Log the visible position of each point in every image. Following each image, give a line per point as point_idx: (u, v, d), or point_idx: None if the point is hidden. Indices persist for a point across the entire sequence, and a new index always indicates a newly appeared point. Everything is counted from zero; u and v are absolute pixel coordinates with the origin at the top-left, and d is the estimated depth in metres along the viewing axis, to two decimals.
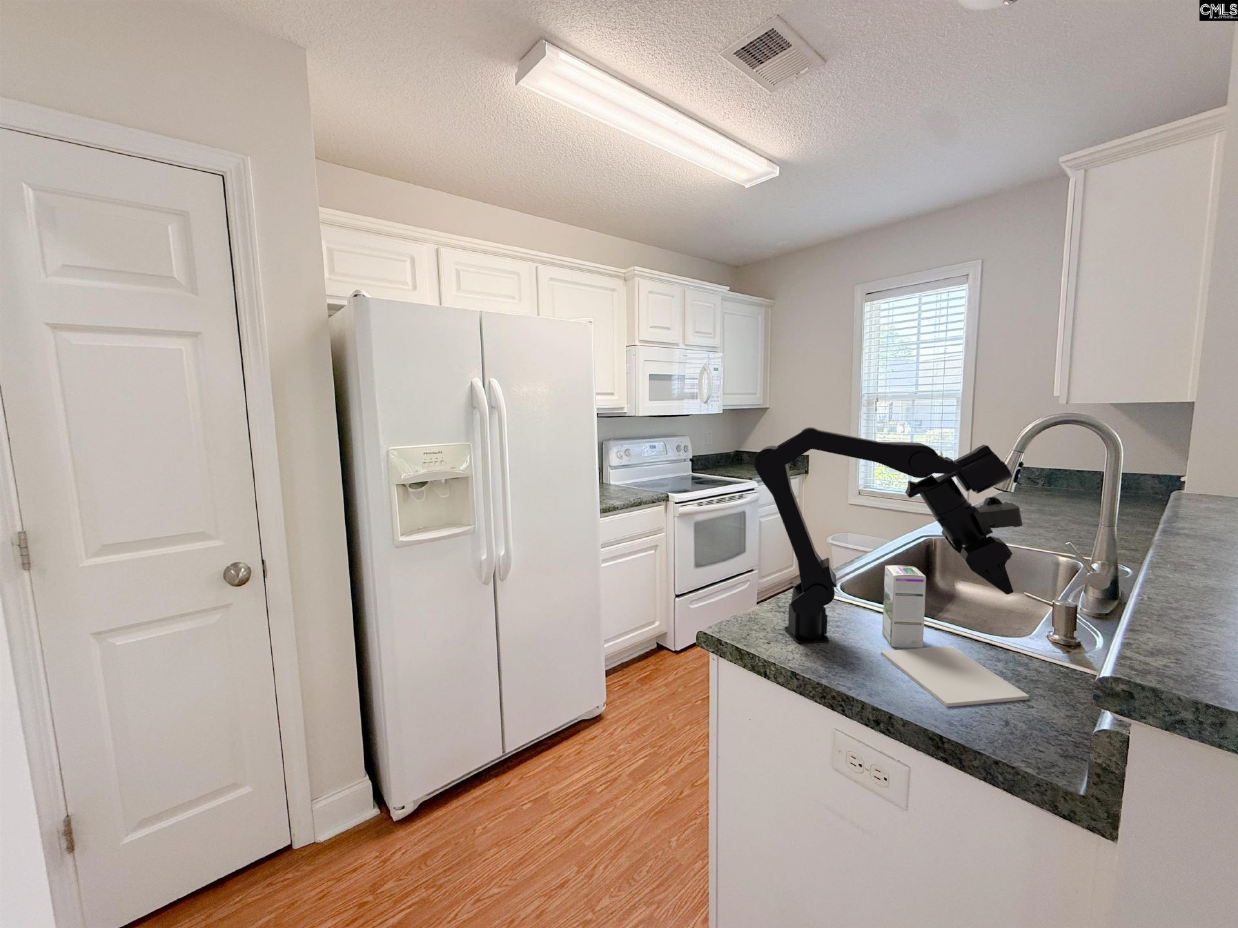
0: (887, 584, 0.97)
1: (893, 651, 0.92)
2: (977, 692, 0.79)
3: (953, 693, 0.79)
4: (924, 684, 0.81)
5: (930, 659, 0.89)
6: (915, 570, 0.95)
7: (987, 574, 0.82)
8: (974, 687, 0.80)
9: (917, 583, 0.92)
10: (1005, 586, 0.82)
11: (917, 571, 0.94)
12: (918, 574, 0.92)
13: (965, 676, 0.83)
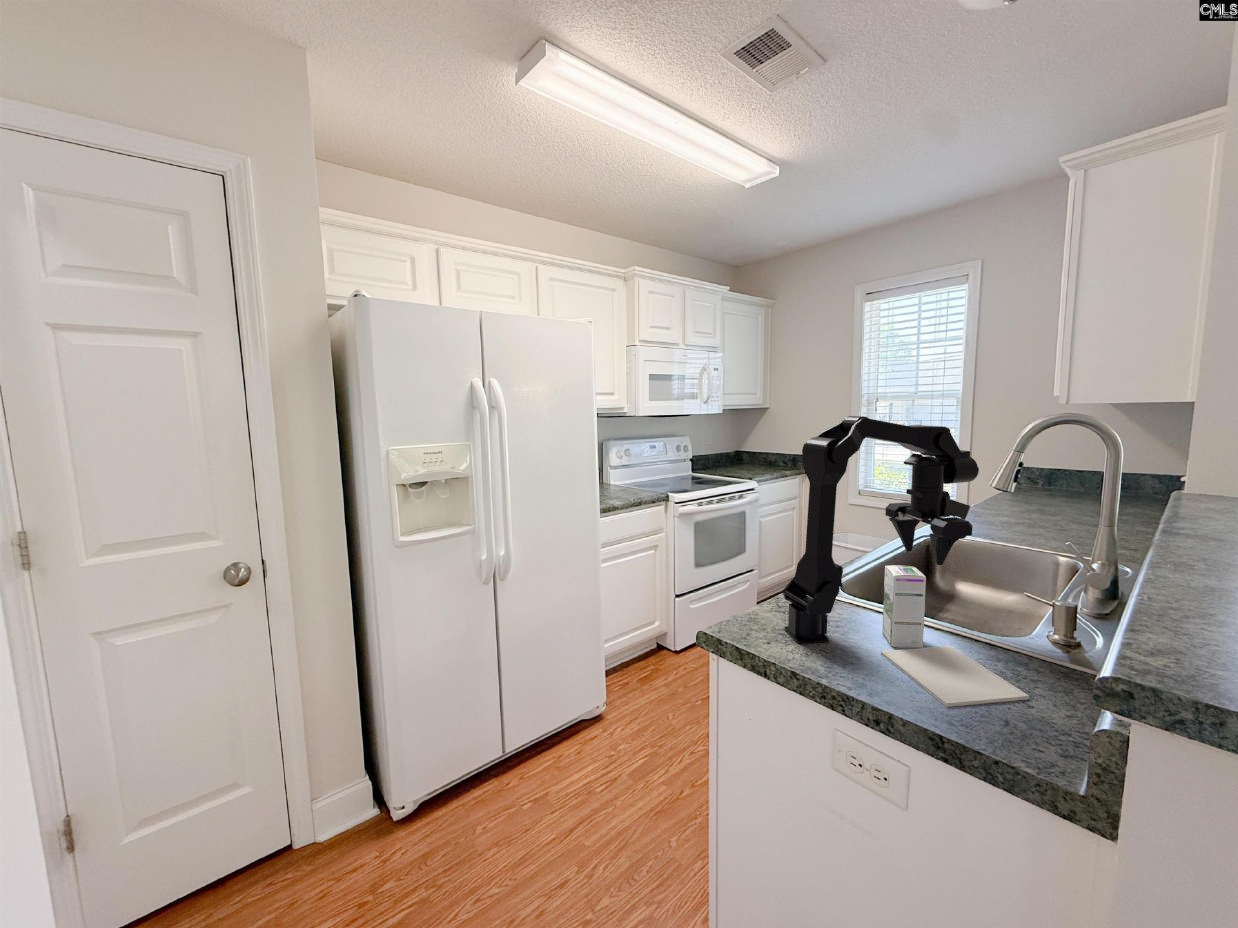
0: (887, 584, 0.97)
1: (893, 651, 0.92)
2: (977, 692, 0.79)
3: (953, 693, 0.79)
4: (924, 684, 0.81)
5: (930, 659, 0.89)
6: (915, 570, 0.95)
7: (940, 544, 0.99)
8: (974, 687, 0.80)
9: (917, 583, 0.92)
10: (942, 558, 1.00)
11: (917, 571, 0.94)
12: (918, 575, 0.92)
13: (965, 676, 0.83)
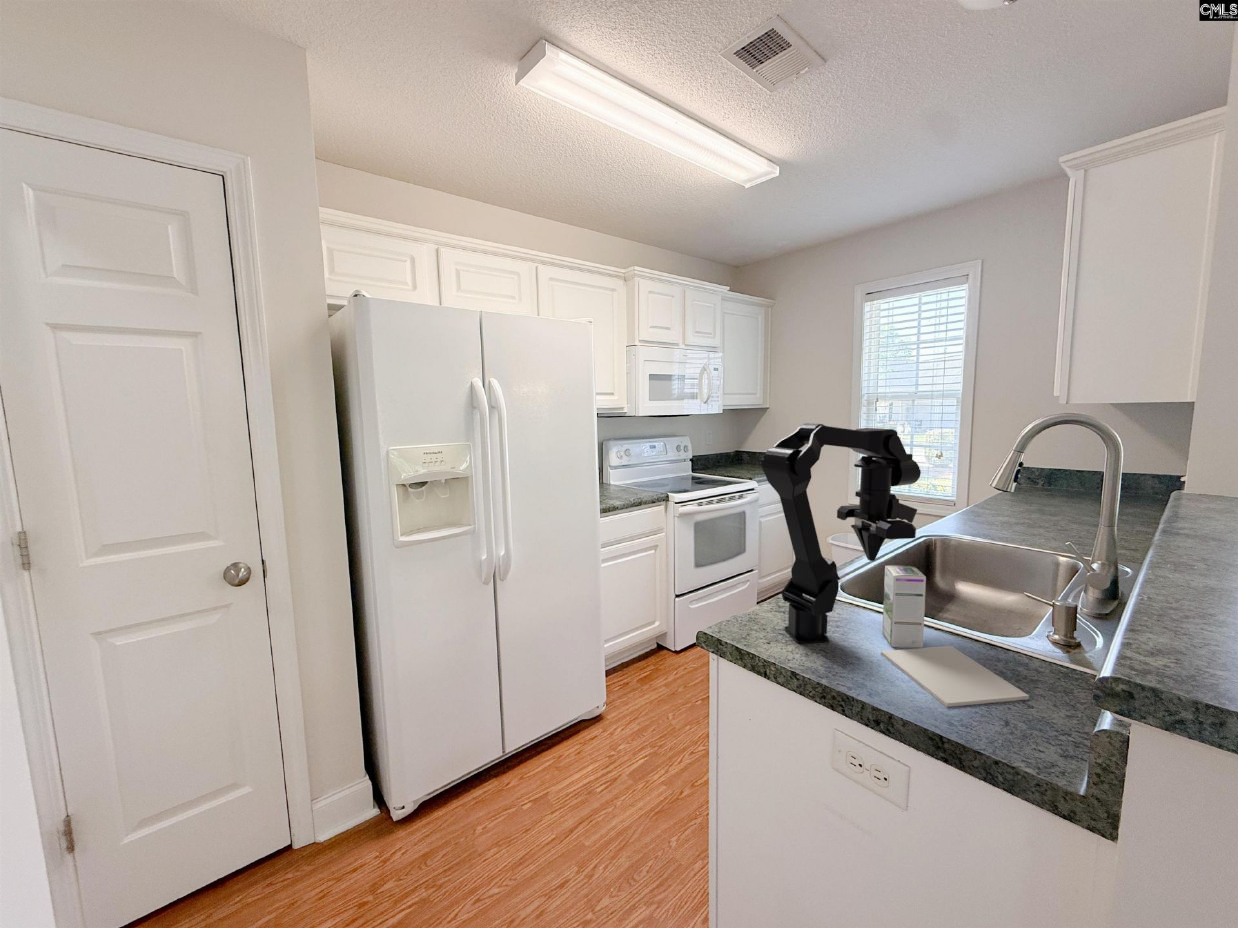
0: (887, 584, 0.97)
1: (893, 651, 0.92)
2: (977, 692, 0.79)
3: (953, 693, 0.79)
4: (924, 684, 0.81)
5: (930, 659, 0.89)
6: (915, 570, 0.95)
7: (871, 540, 1.04)
8: (974, 687, 0.80)
9: (917, 583, 0.92)
10: (873, 554, 1.05)
11: (917, 571, 0.94)
12: (918, 575, 0.92)
13: (965, 676, 0.83)
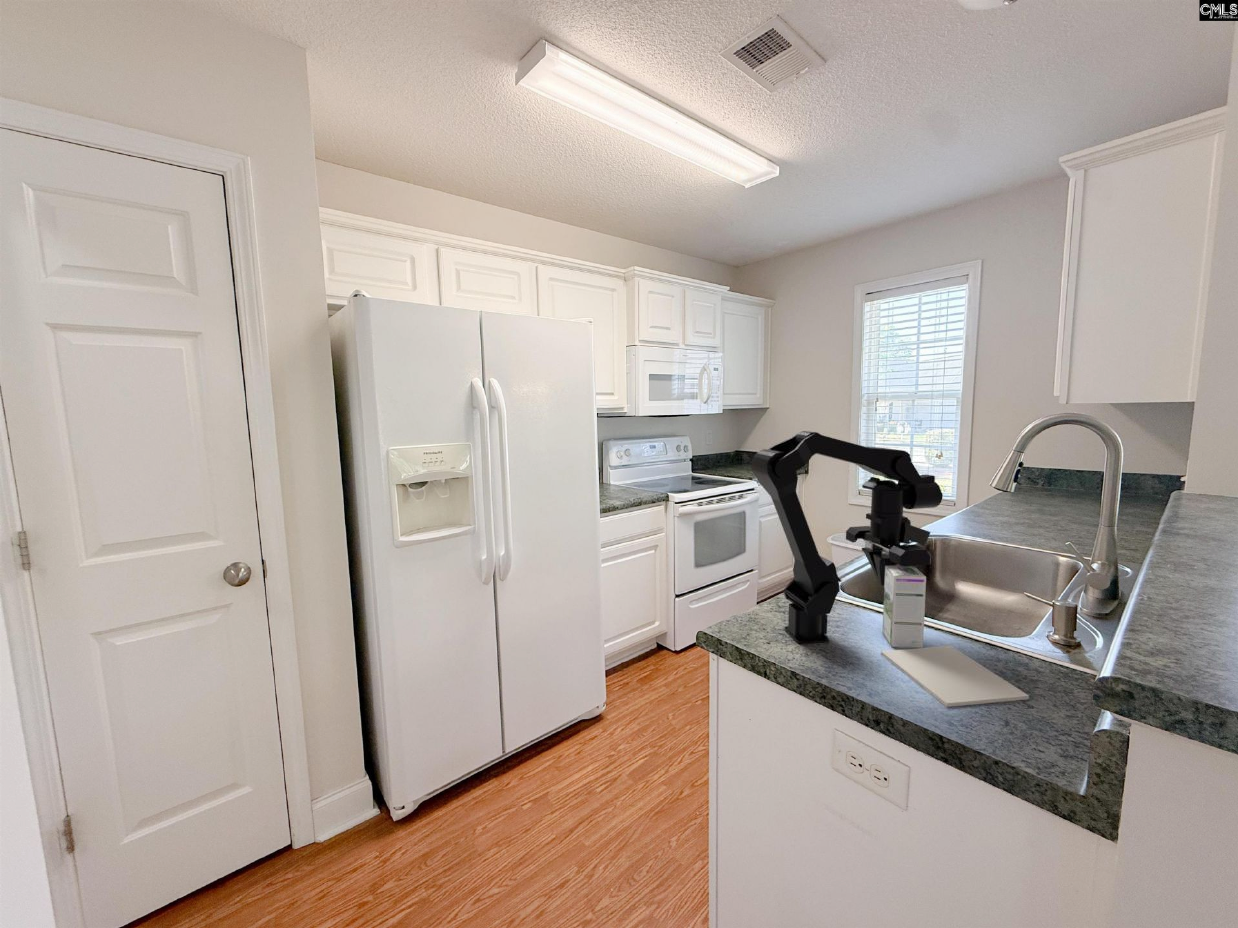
0: (887, 584, 0.96)
1: (893, 651, 0.92)
2: (977, 692, 0.79)
3: (953, 693, 0.79)
4: (924, 684, 0.81)
5: (930, 659, 0.89)
6: (915, 570, 0.95)
7: (883, 565, 1.00)
8: (974, 687, 0.80)
9: (917, 583, 0.92)
10: None
11: (917, 571, 0.94)
12: (918, 575, 0.92)
13: (965, 676, 0.83)
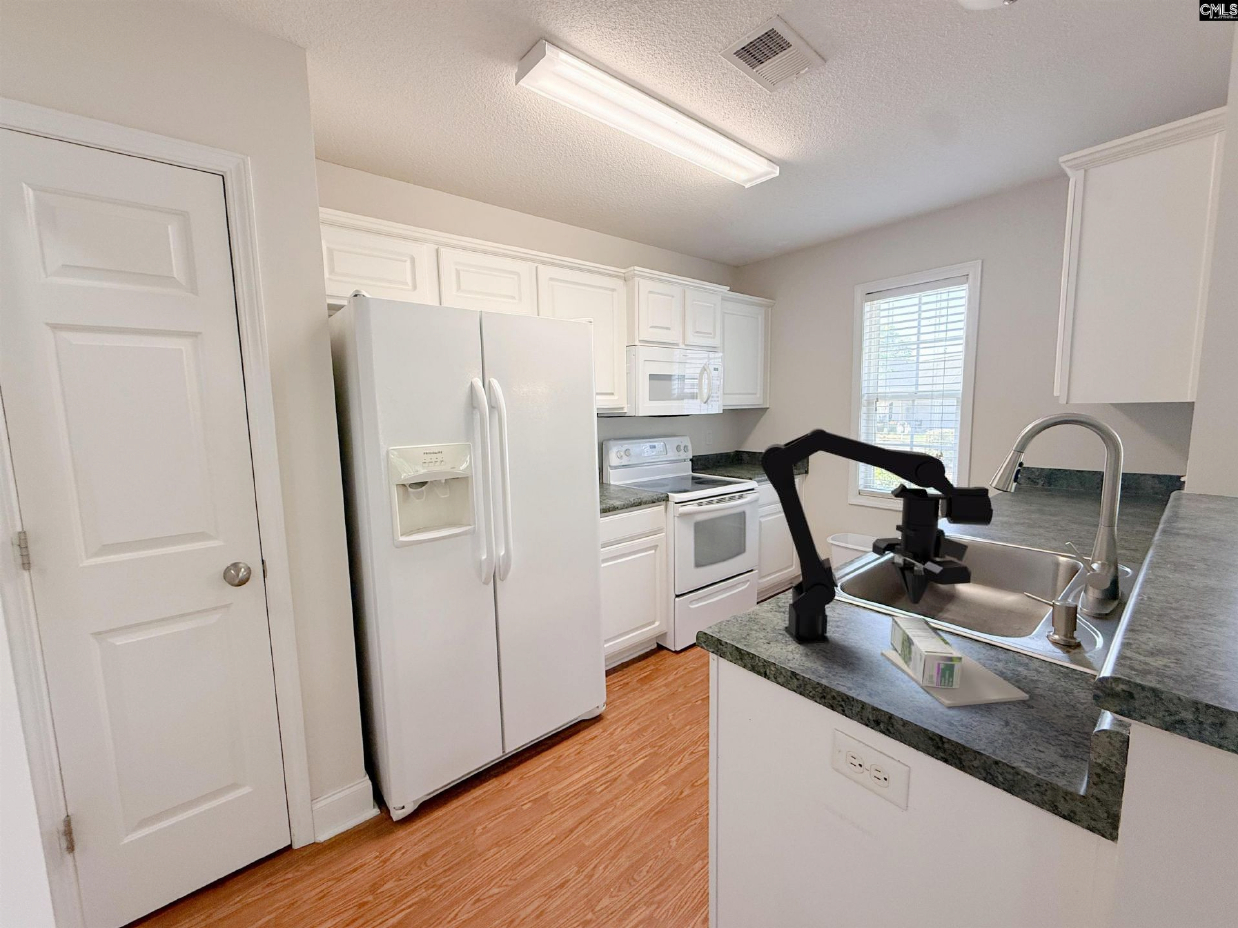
0: (915, 658, 0.83)
1: (893, 651, 0.92)
2: (977, 692, 0.79)
3: (953, 693, 0.79)
4: None
5: None
6: (955, 671, 0.80)
7: (916, 582, 0.90)
8: (974, 687, 0.80)
9: None
10: (918, 597, 0.92)
11: (956, 674, 0.80)
12: (951, 687, 0.80)
13: (965, 676, 0.83)
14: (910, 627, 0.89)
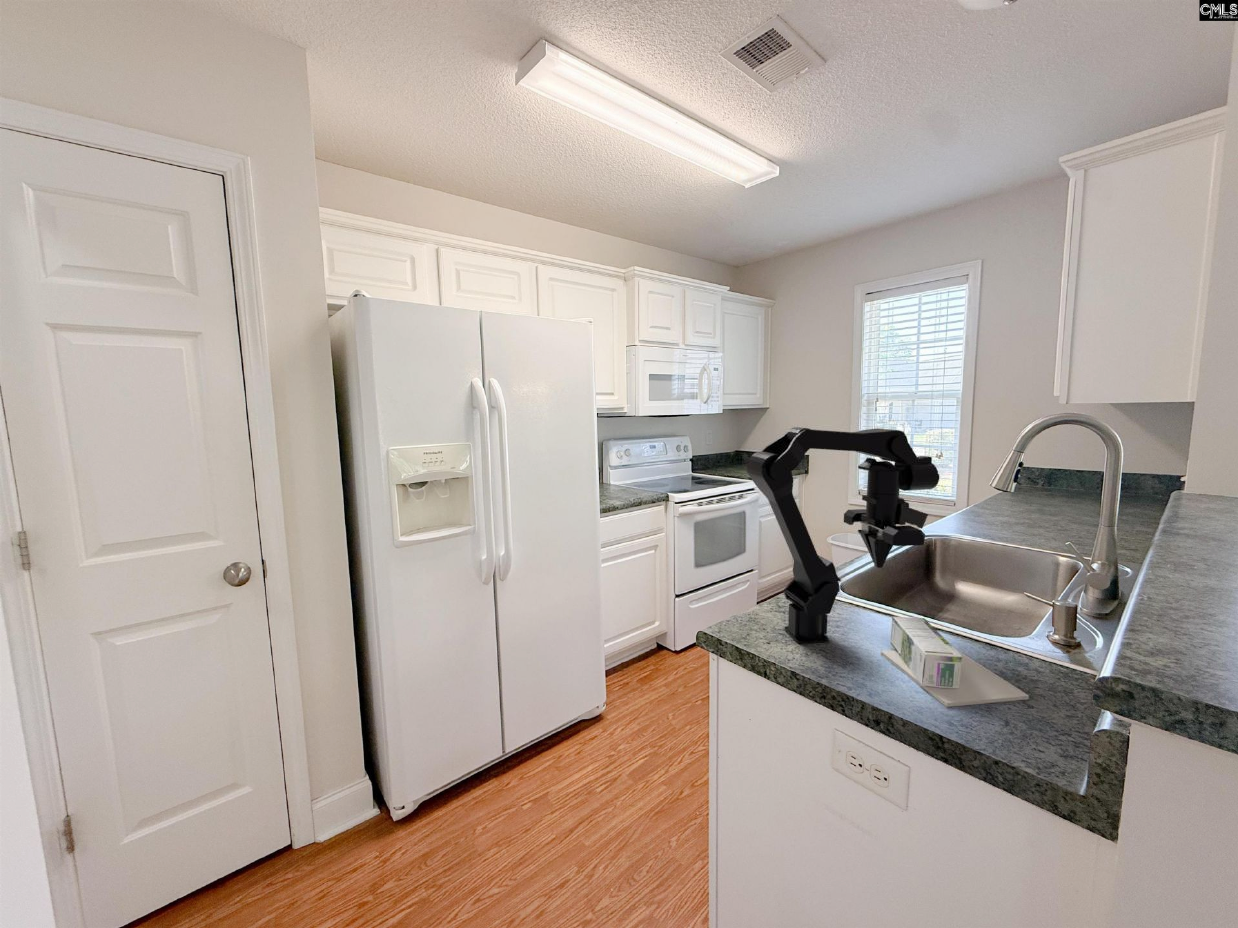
0: (915, 658, 0.83)
1: (893, 651, 0.92)
2: (977, 692, 0.79)
3: (953, 693, 0.79)
4: None
5: None
6: (955, 671, 0.80)
7: (878, 547, 0.99)
8: (974, 687, 0.80)
9: None
10: (881, 561, 1.00)
11: (956, 674, 0.80)
12: (951, 687, 0.80)
13: (965, 676, 0.83)
14: (910, 627, 0.89)
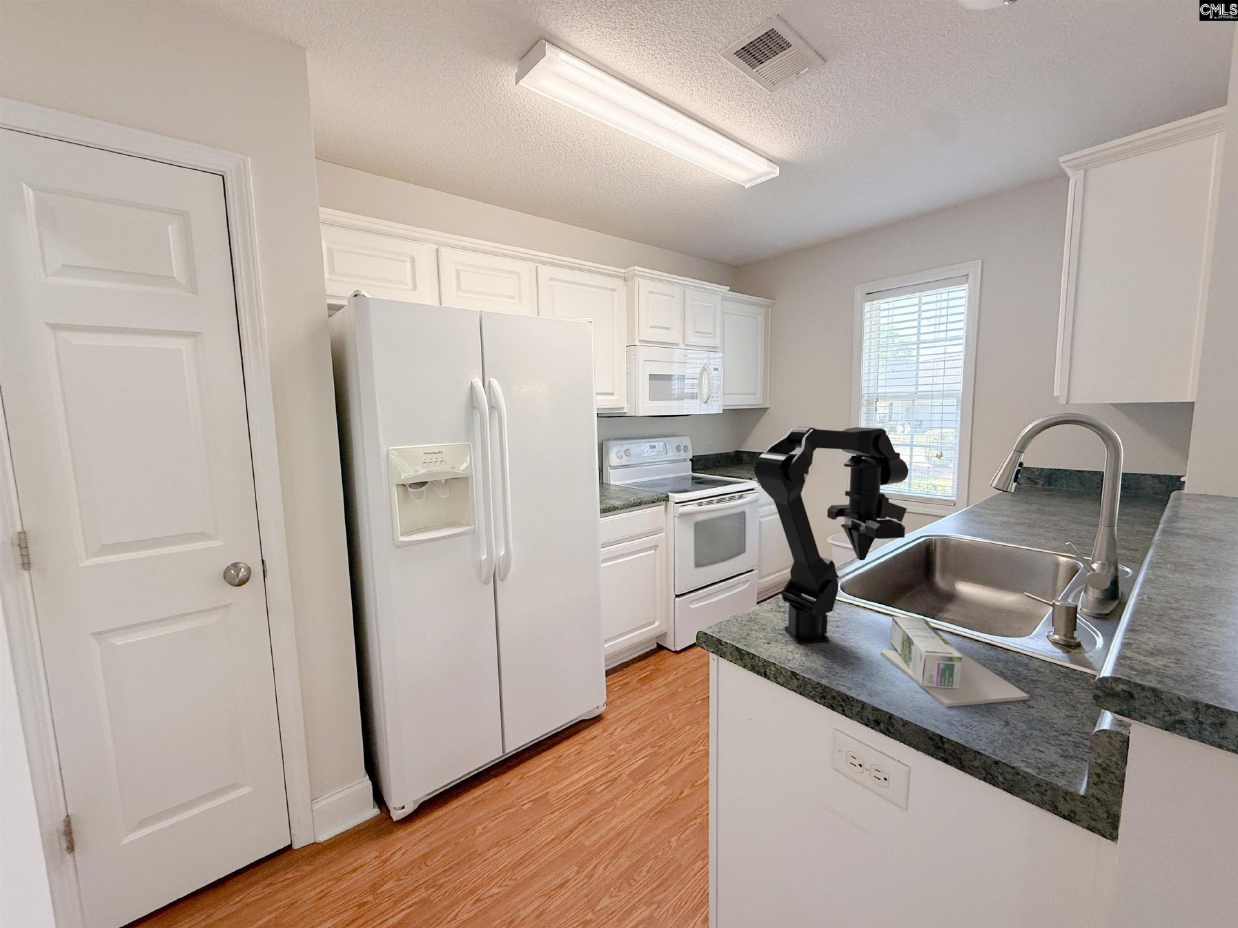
0: (915, 658, 0.83)
1: (893, 651, 0.92)
2: (977, 692, 0.79)
3: (953, 693, 0.79)
4: None
5: None
6: (955, 671, 0.80)
7: (861, 540, 1.03)
8: (974, 687, 0.80)
9: None
10: (863, 553, 1.05)
11: (956, 674, 0.80)
12: (951, 687, 0.80)
13: (965, 676, 0.83)
14: (910, 627, 0.89)
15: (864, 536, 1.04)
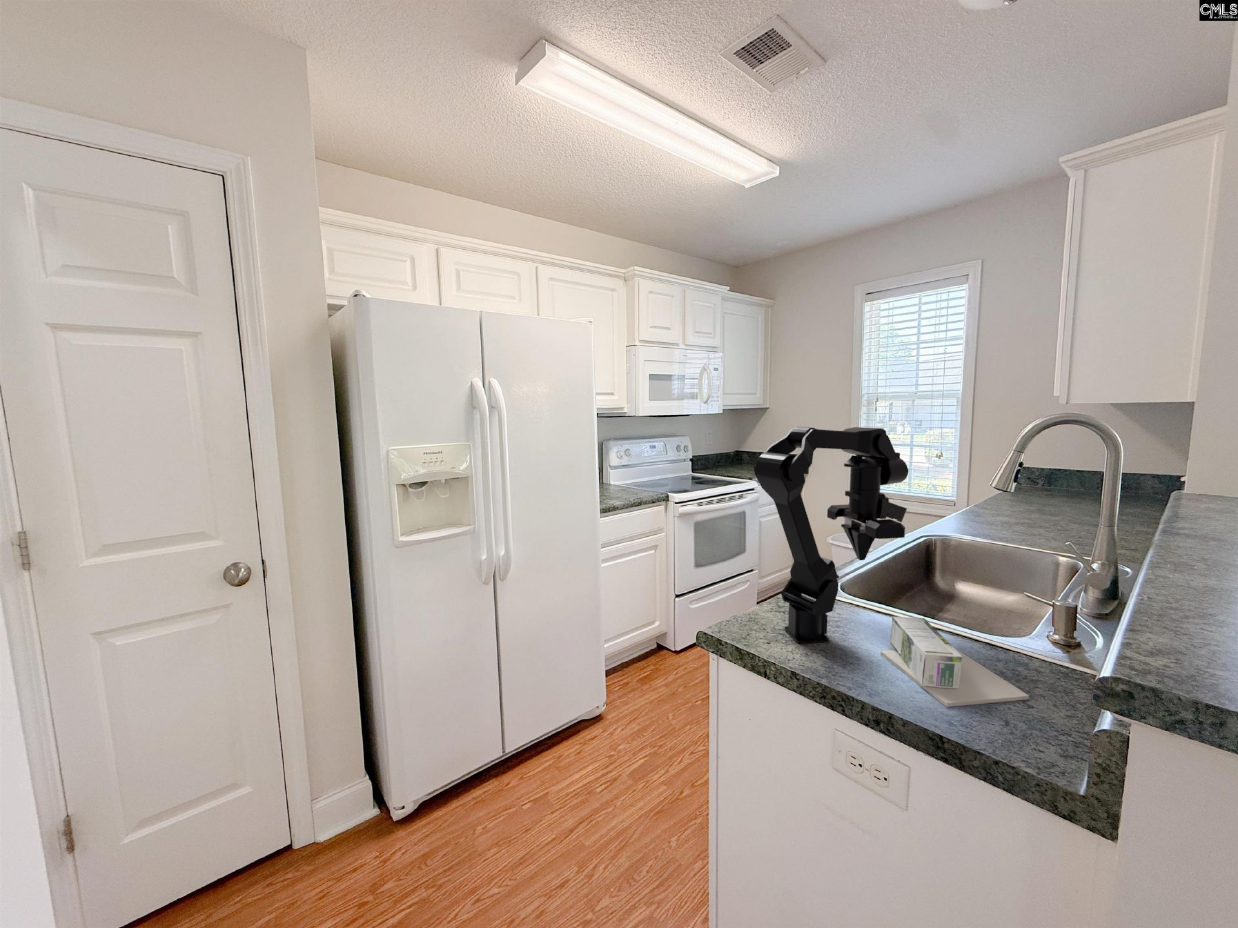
0: (915, 658, 0.83)
1: (893, 651, 0.92)
2: (977, 692, 0.79)
3: (953, 693, 0.79)
4: None
5: None
6: (955, 671, 0.80)
7: (861, 540, 1.03)
8: (974, 687, 0.80)
9: None
10: (863, 553, 1.05)
11: (956, 674, 0.80)
12: (951, 687, 0.80)
13: (965, 676, 0.83)
14: (910, 627, 0.89)
15: (864, 536, 1.04)
